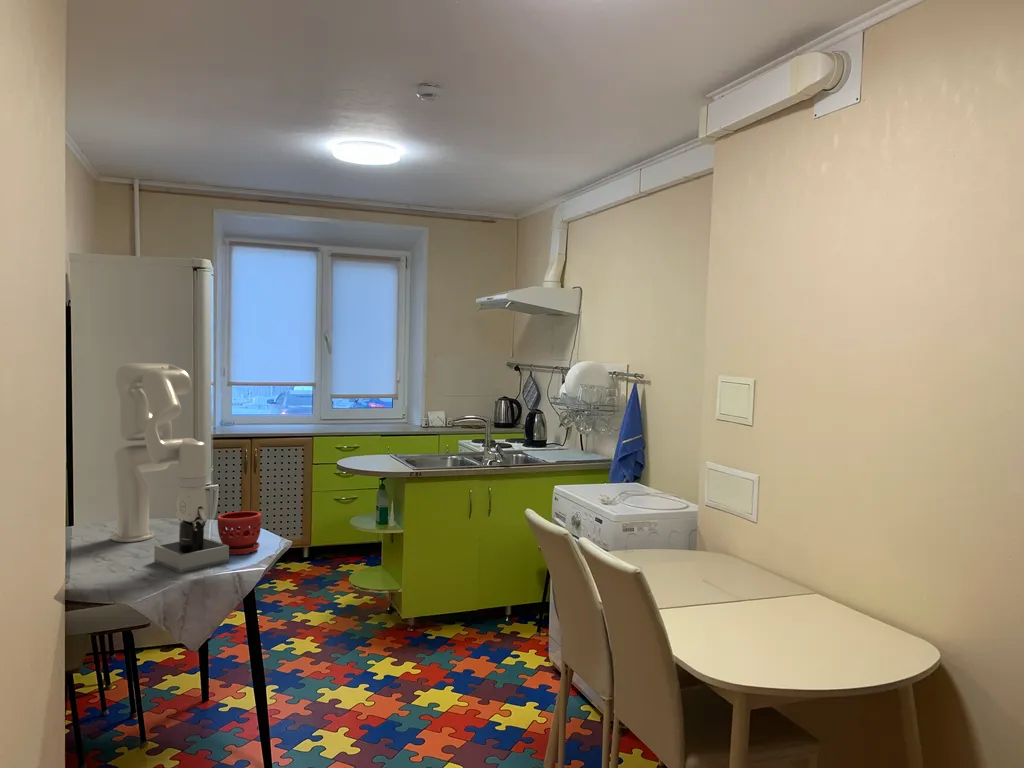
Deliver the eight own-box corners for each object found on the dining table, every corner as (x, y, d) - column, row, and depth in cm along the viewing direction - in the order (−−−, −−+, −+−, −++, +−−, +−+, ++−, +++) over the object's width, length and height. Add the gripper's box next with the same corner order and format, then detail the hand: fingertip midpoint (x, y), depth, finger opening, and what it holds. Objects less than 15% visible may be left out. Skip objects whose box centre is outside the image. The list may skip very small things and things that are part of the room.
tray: (154, 561, 212) (154, 545, 212) (202, 552, 223) (202, 536, 223) (179, 573, 202) (179, 555, 202) (228, 562, 213) (229, 545, 213)
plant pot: (267, 546, 232) (267, 510, 232) (251, 557, 219) (251, 519, 218) (228, 545, 232) (228, 509, 232) (209, 556, 219) (210, 518, 219)
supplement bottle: (178, 555, 208) (178, 515, 208) (179, 549, 214) (179, 510, 214) (203, 553, 211) (204, 513, 210) (203, 547, 217) (204, 508, 217)
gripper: (166, 480, 214) (165, 537, 215) (193, 488, 203) (193, 548, 204) (190, 477, 220) (189, 533, 221) (218, 484, 209) (218, 544, 210)
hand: (191, 540), depth 212 cm, fingers open, 6 cm apart
